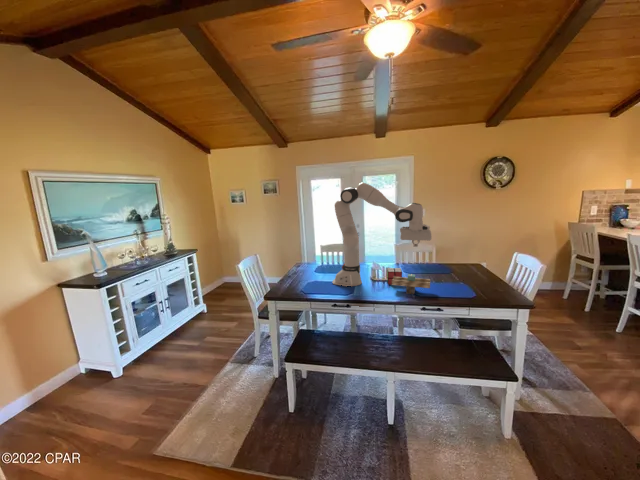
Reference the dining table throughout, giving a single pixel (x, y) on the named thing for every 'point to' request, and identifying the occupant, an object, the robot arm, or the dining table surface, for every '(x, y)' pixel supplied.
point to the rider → (411, 277)
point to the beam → (411, 283)
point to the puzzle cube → (393, 274)
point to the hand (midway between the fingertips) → (415, 246)
